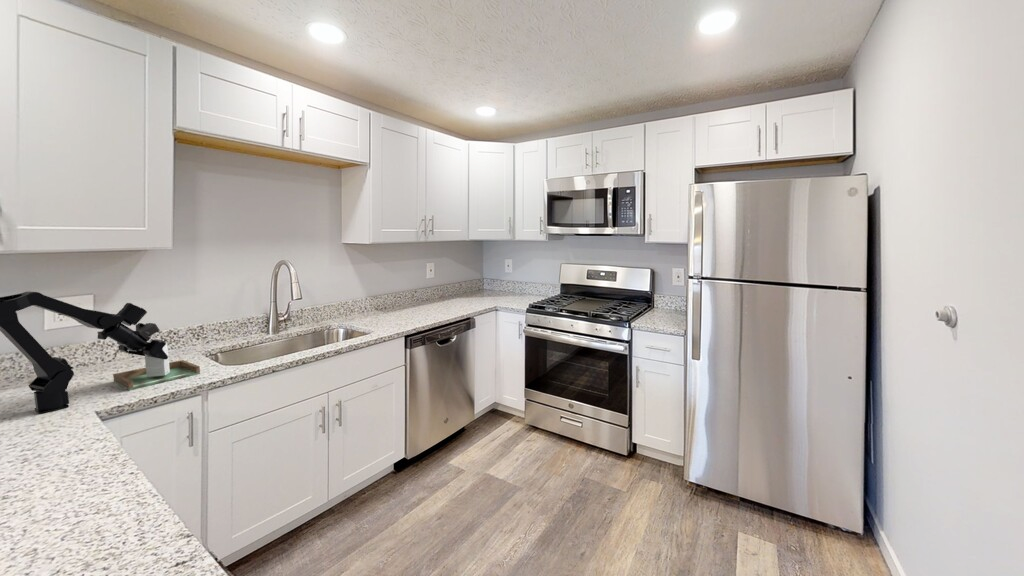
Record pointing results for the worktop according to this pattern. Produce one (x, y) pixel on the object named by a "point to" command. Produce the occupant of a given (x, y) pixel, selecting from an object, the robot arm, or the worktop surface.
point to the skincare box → (157, 365)
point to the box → (140, 379)
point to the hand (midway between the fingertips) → (160, 357)
